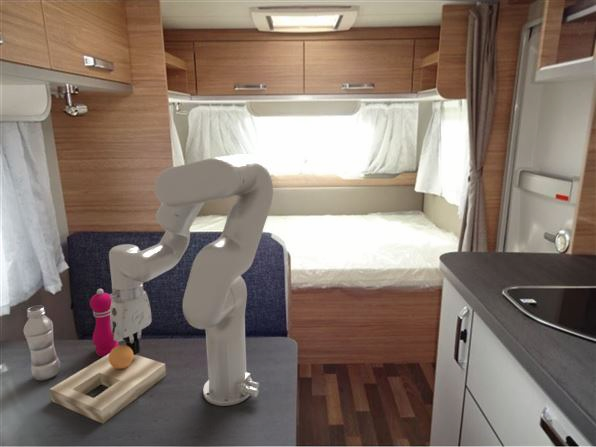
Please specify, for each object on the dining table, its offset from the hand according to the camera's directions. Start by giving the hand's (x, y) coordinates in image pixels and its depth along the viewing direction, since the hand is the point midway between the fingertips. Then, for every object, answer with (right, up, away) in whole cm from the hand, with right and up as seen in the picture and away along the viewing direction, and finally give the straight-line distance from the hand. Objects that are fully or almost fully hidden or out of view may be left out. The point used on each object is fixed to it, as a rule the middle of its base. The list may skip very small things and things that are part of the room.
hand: (133, 352), depth 110 cm
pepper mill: (-12, -3, +10) cm, 16 cm away
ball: (-1, 0, -5) cm, 5 cm away
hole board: (-3, -7, -7) cm, 10 cm away
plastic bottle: (-22, -6, -2) cm, 23 cm away
